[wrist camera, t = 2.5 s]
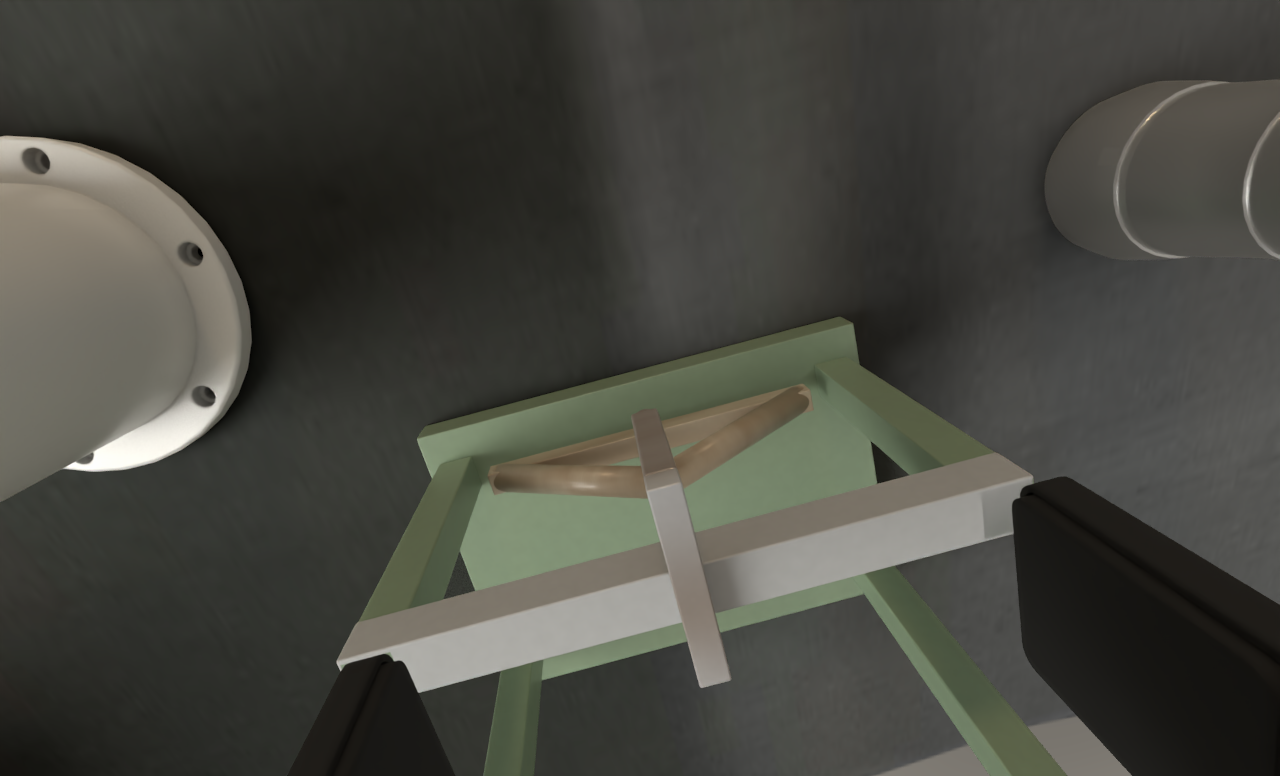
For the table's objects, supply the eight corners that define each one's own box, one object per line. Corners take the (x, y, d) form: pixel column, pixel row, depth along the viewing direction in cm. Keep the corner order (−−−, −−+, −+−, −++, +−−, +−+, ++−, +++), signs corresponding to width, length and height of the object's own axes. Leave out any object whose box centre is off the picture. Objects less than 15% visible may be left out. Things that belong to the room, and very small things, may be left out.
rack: (424, 426, 28) (-80, 1192, 7) (839, 316, 28) (1648, 724, 7) (516, 665, 32) (383, 1623, 11) (879, 568, 32) (1464, 1324, 11)
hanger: (464, 398, 25) (370, 564, 14) (792, 310, 25) (956, 408, 14) (507, 520, 27) (454, 755, 16) (815, 438, 27) (977, 615, 16)
